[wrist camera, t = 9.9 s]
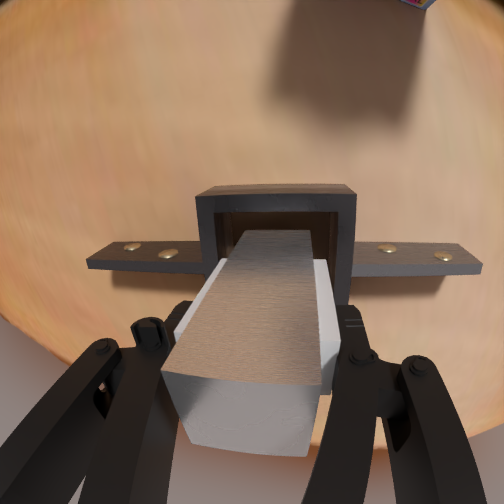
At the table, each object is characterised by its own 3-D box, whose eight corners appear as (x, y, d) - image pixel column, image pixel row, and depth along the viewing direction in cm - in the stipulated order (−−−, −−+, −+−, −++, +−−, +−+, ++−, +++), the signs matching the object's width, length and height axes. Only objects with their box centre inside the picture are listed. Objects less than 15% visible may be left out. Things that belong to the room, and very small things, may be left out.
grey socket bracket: (105, 196, 21) (74, 207, 17) (464, 193, 16) (493, 204, 12) (125, 290, 24) (102, 312, 20) (445, 297, 19) (464, 323, 15)
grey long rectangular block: (249, 286, 19) (191, 443, 8) (245, 230, 17) (160, 369, 6) (308, 288, 18) (306, 456, 7) (310, 230, 17) (321, 385, 6)
